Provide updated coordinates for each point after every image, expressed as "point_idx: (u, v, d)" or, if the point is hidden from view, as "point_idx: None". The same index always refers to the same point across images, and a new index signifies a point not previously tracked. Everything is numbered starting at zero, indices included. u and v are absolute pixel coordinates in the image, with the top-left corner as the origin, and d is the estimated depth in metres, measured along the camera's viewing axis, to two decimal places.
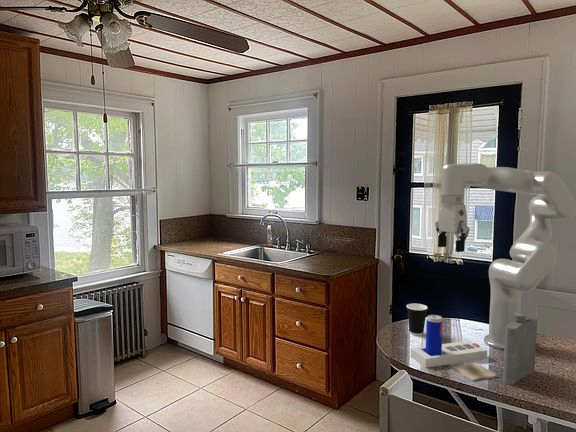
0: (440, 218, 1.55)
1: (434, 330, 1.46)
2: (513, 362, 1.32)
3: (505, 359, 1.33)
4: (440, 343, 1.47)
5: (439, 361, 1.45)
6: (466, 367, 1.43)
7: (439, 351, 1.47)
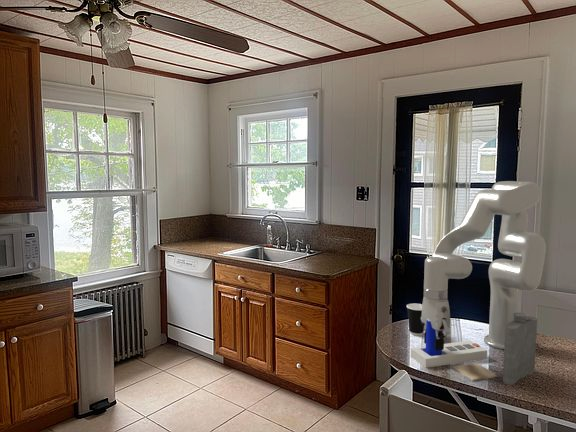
0: (423, 310, 1.51)
1: (434, 330, 1.46)
2: (513, 362, 1.32)
3: (505, 359, 1.33)
4: None
5: (439, 361, 1.45)
6: (466, 367, 1.43)
7: (439, 351, 1.47)
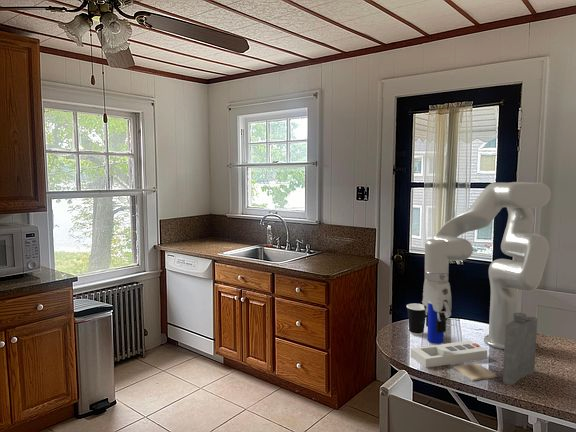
0: (424, 293, 1.50)
1: (436, 313, 1.46)
2: (513, 362, 1.32)
3: (505, 359, 1.33)
4: None
5: (439, 361, 1.45)
6: (466, 367, 1.43)
7: (441, 333, 1.47)
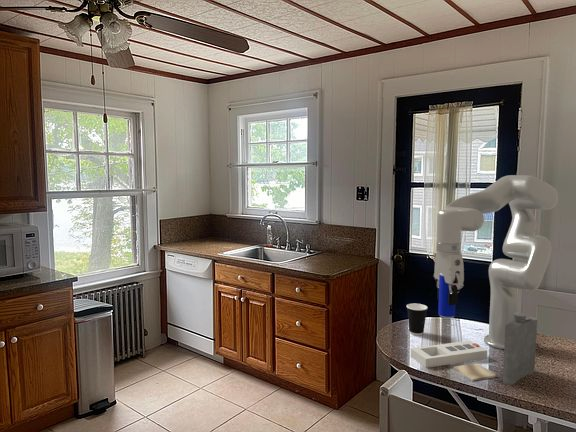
0: (436, 266, 1.47)
1: (447, 285, 1.42)
2: (513, 362, 1.32)
3: (505, 359, 1.33)
4: None
5: (439, 361, 1.45)
6: (466, 367, 1.43)
7: (452, 306, 1.43)
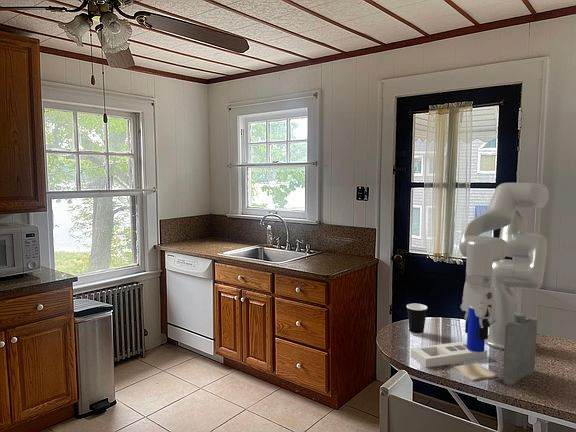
0: (464, 297, 1.41)
1: (478, 318, 1.36)
2: (513, 362, 1.32)
3: (505, 359, 1.33)
4: None
5: (439, 361, 1.45)
6: (466, 367, 1.43)
7: (482, 341, 1.37)
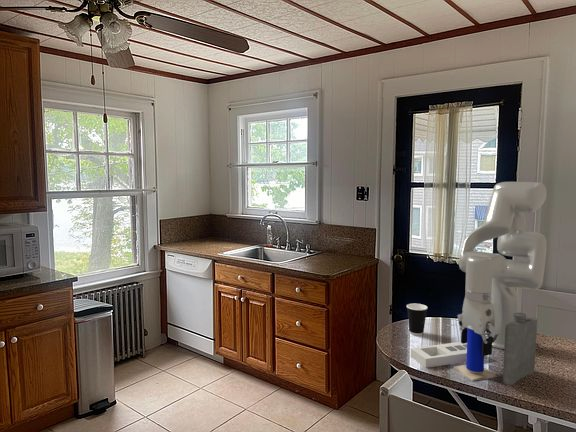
0: (464, 313, 1.41)
1: (477, 339, 1.37)
2: (513, 362, 1.32)
3: (505, 359, 1.33)
4: None
5: (439, 361, 1.45)
6: None
7: (482, 361, 1.38)
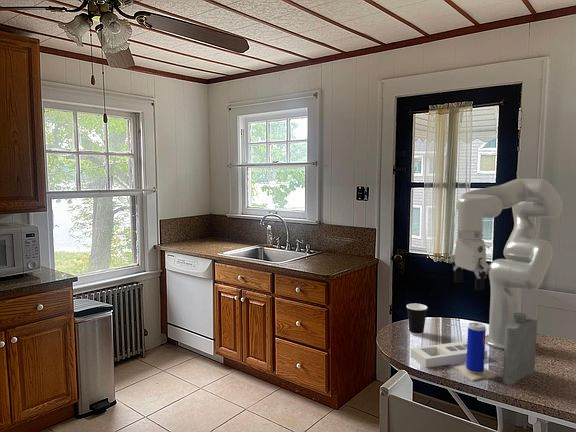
0: (457, 253, 1.47)
1: (477, 339, 1.37)
2: (513, 362, 1.32)
3: (505, 359, 1.33)
4: (483, 353, 1.38)
5: (439, 361, 1.45)
6: None
7: (482, 361, 1.38)
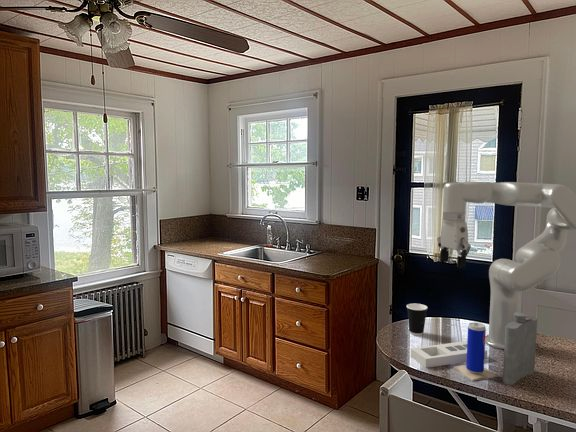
0: (442, 234, 1.61)
1: (477, 339, 1.37)
2: (513, 362, 1.32)
3: (505, 359, 1.33)
4: (483, 353, 1.38)
5: (439, 361, 1.45)
6: None
7: (482, 361, 1.38)
